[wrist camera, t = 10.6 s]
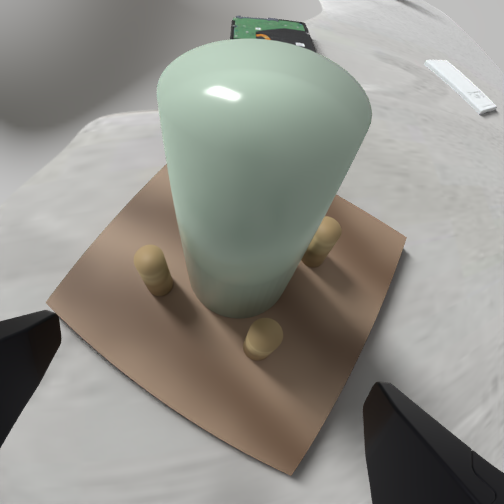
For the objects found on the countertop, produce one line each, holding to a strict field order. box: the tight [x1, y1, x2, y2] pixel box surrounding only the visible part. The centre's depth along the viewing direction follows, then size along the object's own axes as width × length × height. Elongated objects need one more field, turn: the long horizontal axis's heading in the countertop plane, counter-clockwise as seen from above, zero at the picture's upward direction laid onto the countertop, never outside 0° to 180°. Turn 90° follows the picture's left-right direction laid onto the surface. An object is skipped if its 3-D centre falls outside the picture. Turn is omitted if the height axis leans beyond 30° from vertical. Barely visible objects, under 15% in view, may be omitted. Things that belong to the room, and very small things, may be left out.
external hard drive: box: [424, 60, 497, 115], centre depth 39 cm, size 2×8×12 cm
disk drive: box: [230, 16, 316, 52], centre depth 33 cm, size 10×3×15 cm
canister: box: [157, 39, 372, 319], centre depth 14 cm, size 6×6×13 cm
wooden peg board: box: [46, 164, 407, 476], centre depth 19 cm, size 18×18×5 cm
